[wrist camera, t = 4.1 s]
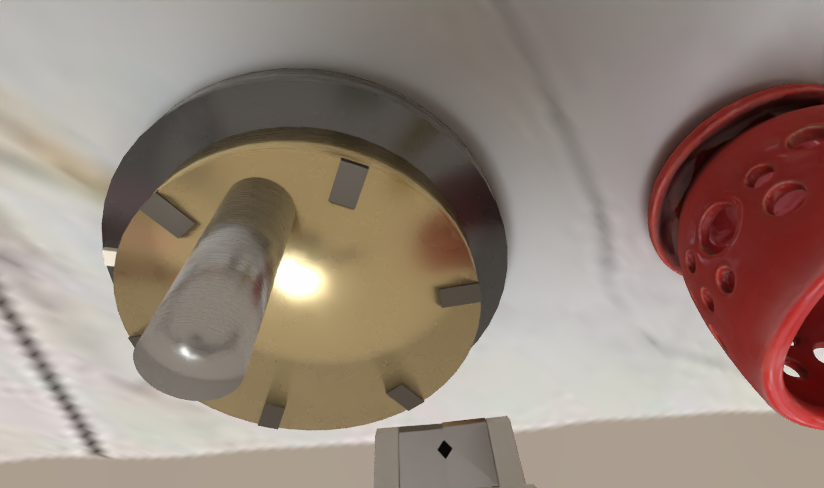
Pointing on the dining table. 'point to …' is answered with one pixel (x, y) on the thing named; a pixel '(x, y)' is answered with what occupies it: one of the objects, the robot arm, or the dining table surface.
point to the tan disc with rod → (298, 281)
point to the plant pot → (754, 238)
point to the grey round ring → (325, 109)
